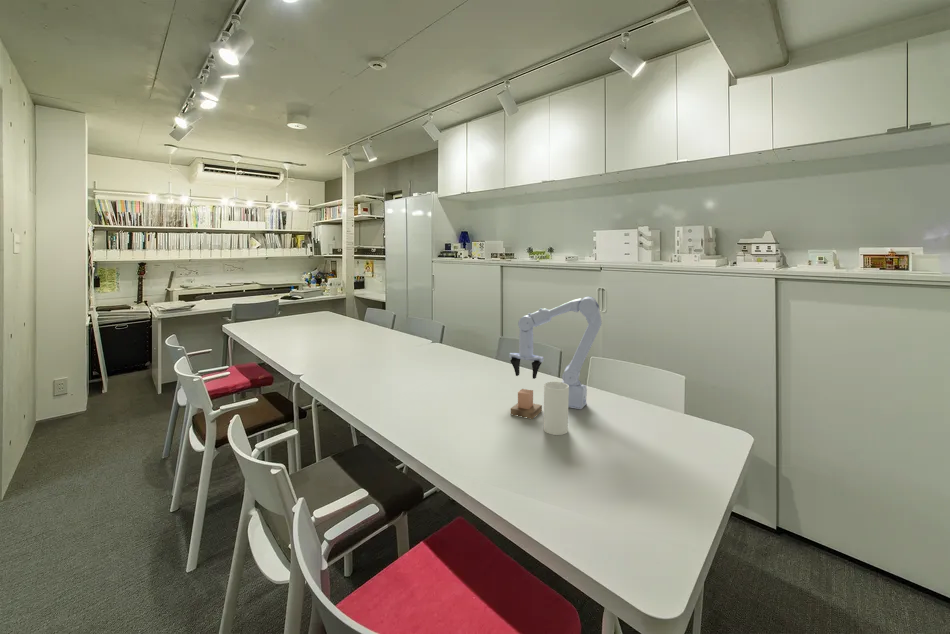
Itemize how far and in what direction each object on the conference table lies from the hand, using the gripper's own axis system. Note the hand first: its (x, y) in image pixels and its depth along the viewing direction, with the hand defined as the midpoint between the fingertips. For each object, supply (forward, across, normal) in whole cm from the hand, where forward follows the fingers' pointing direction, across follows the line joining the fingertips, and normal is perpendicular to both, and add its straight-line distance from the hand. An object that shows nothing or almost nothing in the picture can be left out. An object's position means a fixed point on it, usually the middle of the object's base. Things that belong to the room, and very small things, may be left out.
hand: (525, 376), depth 168 cm
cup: (+10, +21, -22) cm, 32 cm away
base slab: (+10, +6, -13) cm, 18 cm away
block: (+7, +6, -13) cm, 16 cm away
